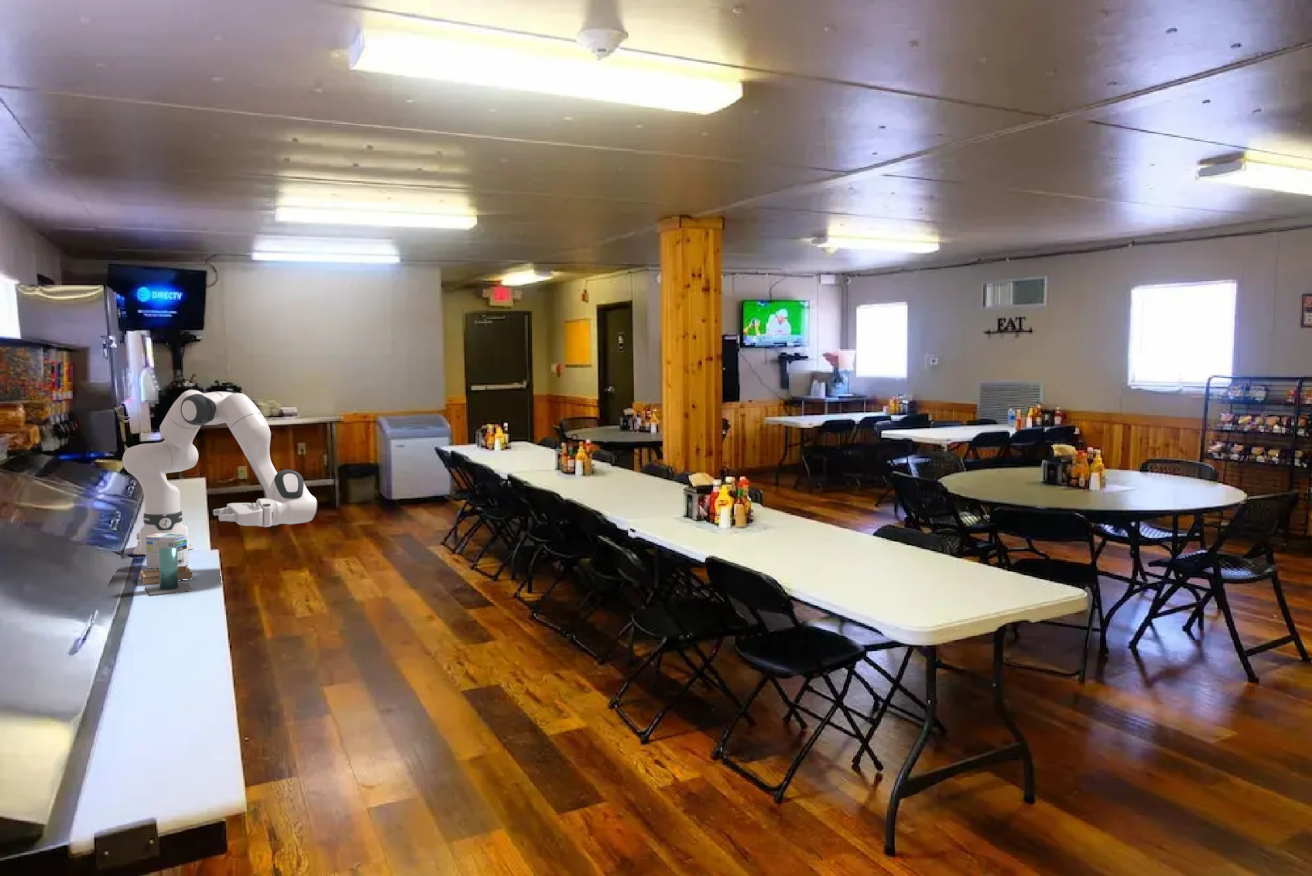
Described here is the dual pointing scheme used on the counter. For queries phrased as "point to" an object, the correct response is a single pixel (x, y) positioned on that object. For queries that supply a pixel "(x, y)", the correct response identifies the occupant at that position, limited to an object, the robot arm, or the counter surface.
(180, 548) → the light bulb box
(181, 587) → the rubber mat
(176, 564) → the teal translucent cylinder
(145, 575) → the wooden frame
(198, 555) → the counter surface
